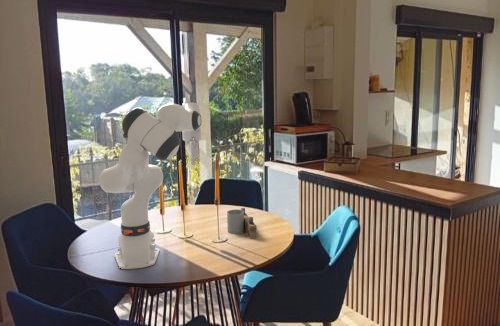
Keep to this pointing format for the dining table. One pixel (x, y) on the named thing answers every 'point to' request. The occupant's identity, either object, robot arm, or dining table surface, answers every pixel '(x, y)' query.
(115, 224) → the dining table surface
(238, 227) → the cup
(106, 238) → the dining table surface
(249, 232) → the stop fence
